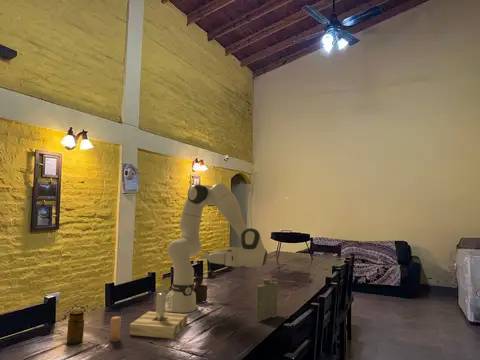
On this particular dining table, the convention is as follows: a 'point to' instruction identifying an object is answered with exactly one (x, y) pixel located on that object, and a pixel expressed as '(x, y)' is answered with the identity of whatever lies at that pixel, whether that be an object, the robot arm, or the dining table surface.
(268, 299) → the hip flask
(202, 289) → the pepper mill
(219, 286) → the dining table surface
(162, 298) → the tall metal pin
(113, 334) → the short terracotta pin
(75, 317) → the condiment
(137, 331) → the hole block
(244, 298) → the dining table surface
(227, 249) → the robot arm
